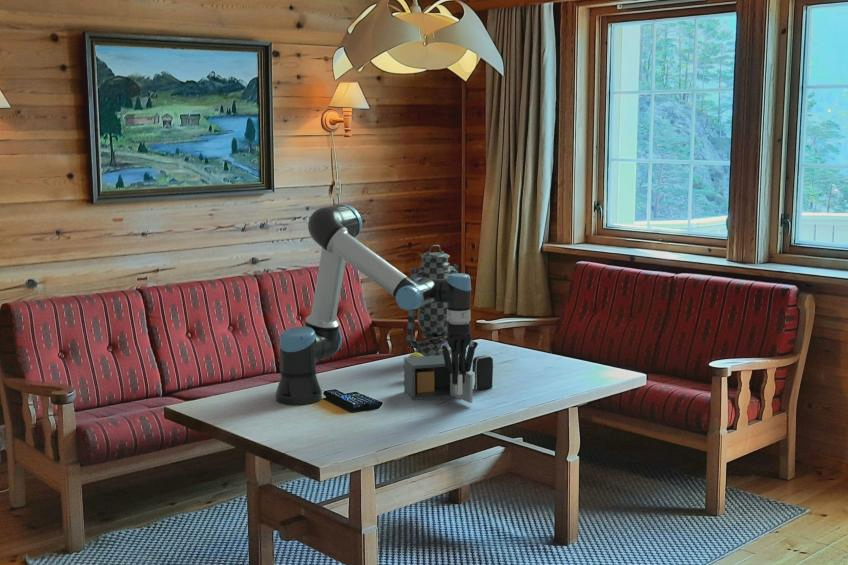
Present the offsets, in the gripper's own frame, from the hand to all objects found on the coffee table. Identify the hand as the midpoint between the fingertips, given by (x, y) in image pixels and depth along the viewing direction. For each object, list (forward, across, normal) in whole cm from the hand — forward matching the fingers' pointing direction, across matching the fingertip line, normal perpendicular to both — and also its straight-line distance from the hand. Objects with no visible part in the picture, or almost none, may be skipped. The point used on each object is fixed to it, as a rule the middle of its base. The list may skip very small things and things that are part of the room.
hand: (458, 393), depth 329 cm
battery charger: (+5, +18, +16) cm, 25 cm away
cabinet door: (+3, +3, +4) cm, 6 cm away
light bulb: (+5, +2, +36) cm, 37 cm away
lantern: (+5, +20, +59) cm, 62 cm away
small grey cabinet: (+4, 0, +17) cm, 17 cm away
